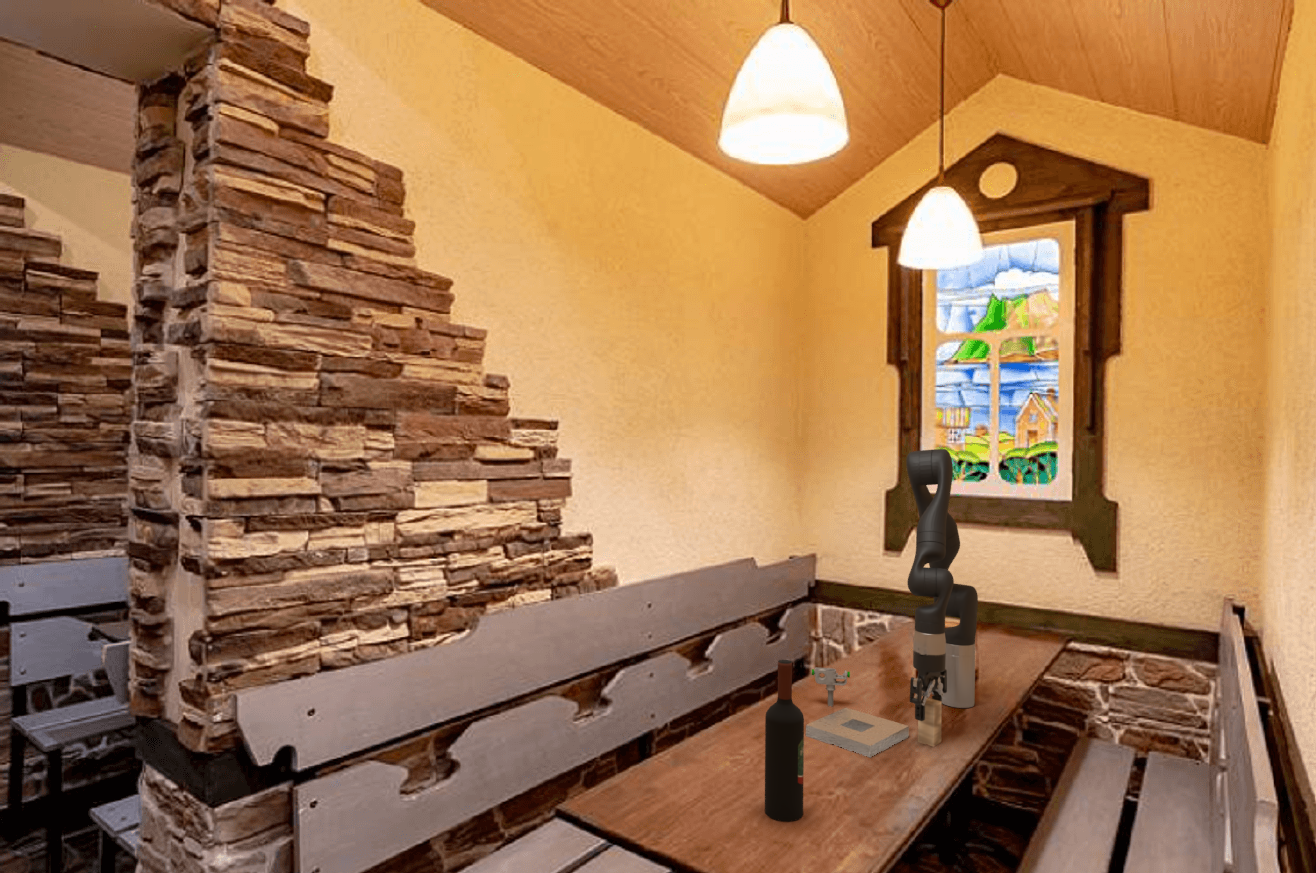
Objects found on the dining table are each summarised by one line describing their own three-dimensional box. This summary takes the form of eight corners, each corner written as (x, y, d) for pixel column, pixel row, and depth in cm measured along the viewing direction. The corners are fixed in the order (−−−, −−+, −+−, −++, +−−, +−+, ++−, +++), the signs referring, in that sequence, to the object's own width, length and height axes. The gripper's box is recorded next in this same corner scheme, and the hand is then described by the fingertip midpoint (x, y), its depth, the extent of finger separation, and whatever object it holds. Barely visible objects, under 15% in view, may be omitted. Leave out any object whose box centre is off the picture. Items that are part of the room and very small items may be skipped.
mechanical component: (849, 709, 216) (850, 672, 215) (811, 706, 218) (811, 669, 217) (849, 705, 218) (849, 669, 218) (811, 702, 220) (811, 666, 220)
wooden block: (925, 737, 196) (926, 697, 196) (941, 742, 193) (941, 701, 193) (917, 741, 193) (918, 701, 193) (933, 746, 190) (933, 705, 190)
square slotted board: (845, 717, 209) (845, 707, 209) (908, 737, 196) (908, 725, 196) (805, 735, 196) (805, 724, 196) (870, 757, 183) (870, 745, 183)
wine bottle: (760, 804, 160) (762, 656, 160) (797, 802, 161) (798, 655, 161) (769, 822, 153) (770, 667, 152) (807, 821, 153) (809, 667, 153)
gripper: (929, 641, 201) (928, 705, 201) (900, 651, 191) (899, 718, 191) (957, 647, 195) (956, 713, 195) (929, 658, 185) (928, 727, 185)
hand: (928, 715), depth 193 cm, fingers open, 8 cm apart
